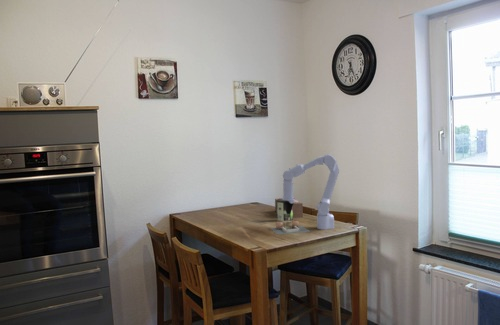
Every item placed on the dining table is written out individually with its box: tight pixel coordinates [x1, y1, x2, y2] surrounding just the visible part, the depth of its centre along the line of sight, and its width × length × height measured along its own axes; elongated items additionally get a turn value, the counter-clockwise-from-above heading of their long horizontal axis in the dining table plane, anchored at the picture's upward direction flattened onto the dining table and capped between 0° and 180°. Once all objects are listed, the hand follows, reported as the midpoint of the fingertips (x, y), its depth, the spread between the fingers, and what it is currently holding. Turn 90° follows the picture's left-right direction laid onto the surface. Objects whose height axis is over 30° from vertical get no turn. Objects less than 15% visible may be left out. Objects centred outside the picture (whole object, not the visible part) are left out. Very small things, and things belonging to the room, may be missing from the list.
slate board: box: [269, 225, 312, 235], centre depth 226 cm, size 20×16×1 cm
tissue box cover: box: [274, 197, 304, 219], centre depth 276 cm, size 26×14×10 cm, turn 6°
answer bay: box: [282, 226, 300, 233], centre depth 224 cm, size 8×8×2 cm
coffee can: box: [276, 199, 294, 222], centre depth 254 cm, size 10×10×14 cm
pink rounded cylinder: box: [291, 220, 300, 228], centre depth 231 cm, size 4×4×4 cm
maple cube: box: [282, 221, 292, 229], centre depth 230 cm, size 4×4×4 cm
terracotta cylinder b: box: [275, 221, 283, 229], centre depth 229 cm, size 4×4×4 cm
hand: (288, 213), depth 230 cm, fingers closed
